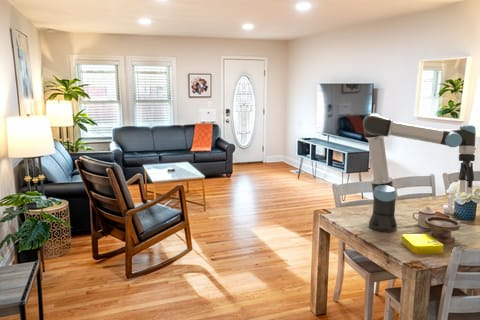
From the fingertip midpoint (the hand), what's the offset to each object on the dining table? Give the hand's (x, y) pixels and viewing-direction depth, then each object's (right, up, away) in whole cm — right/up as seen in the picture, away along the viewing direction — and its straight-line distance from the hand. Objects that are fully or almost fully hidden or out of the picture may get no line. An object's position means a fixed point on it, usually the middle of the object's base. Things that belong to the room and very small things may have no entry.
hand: (465, 192), depth 205 cm
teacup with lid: (-17, -20, +13) cm, 29 cm away
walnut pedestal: (-17, -24, -5) cm, 29 cm away
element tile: (-32, -26, -16) cm, 45 cm away
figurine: (+10, -16, +35) cm, 39 cm away
